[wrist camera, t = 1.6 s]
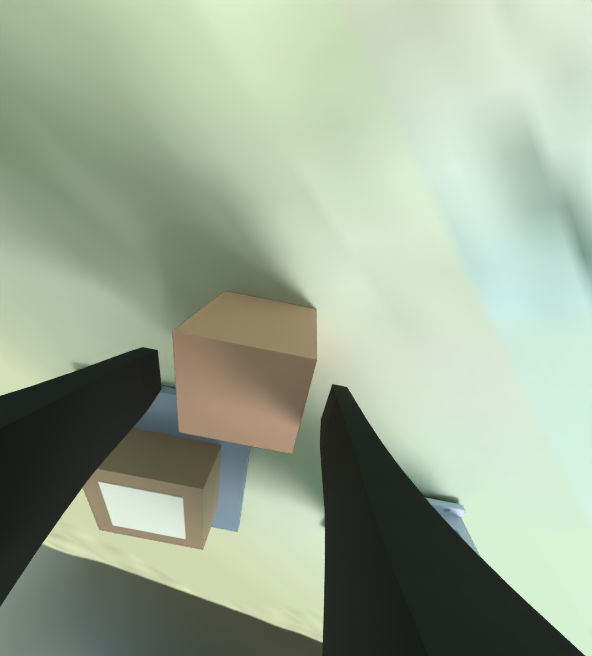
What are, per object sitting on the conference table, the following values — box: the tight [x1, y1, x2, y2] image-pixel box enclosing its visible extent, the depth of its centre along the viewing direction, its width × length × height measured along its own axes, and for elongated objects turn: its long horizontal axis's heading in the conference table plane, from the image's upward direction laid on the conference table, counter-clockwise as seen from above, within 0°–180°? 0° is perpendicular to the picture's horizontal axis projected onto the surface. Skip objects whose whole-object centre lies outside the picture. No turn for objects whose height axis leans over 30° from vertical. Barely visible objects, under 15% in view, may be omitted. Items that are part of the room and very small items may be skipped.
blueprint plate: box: [83, 385, 250, 550], centre depth 17 cm, size 12×16×4 cm
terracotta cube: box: [172, 291, 317, 454], centre depth 11 cm, size 5×5×5 cm
